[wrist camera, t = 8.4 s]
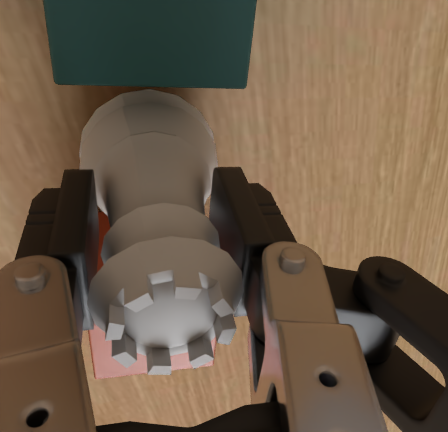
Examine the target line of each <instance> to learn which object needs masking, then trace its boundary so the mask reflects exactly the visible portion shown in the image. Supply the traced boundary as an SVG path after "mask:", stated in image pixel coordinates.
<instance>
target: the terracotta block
mask: <svg viewBox="0 0 448 432" xmlns="http://www.w3.org/2000/svg"><path fill="white" fill-rule="evenodd" d="M98 219H99V248H98V266H97V272H98V271H99V270H100V269H101V267H102V266H103V265H104V264H103V261H102V258H101V251H102V245H103V240H104V236H105V235H106V234H107V232H108V231H109V230H110V225H109V220H108V216H107V215H106V214H105V213H104V212H98ZM88 334H89V341H90V348H91V355H92V363H93V370H94V377H95V379H102V378H111V377H120V376H128V375H137V374H145V373H147V358H146V356H145V355H142V354H139V353H137V361H136V362H135V363H133V364H132V365H131V366H129V367H128V368H126V367H124V366H123V365H122V364H120V363H119V362H118V361H117V360H115V359H114V358H113V357H112V340H108V341H105V332H104V331H103V330H101V329H100V328H99V327H98V326H96V325H95V323H94V329H93V330H88ZM211 345H212V350H213V355H214V356H215V348H216V337H215V338H214V339H213V340H211ZM170 358H171V370H179V369H188V368H193V367H192V365H191V363H190V361H189V355H188V352H186V353H182V354H177V355H173V356H170ZM213 364H214V359H213V360H211V361H210V362H208V363H206V364H204V365H202V366H200V367H205V366H212V365H213Z"/></svg>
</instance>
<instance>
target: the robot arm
mask: <svg viewBox="0 0 448 432" xmlns="http://www.w3.org/2000/svg"><path fill="white" fill-rule="evenodd" d="M209 220H210V221H211V223H212V224H213V226H214V227H215V228H216V230H217V231H218V235H219V243H220V249H222V250H224V251H226V252H228V253H229V255H230V256H231V257H232V259H233V260H234V262H235V263H236V264H237V266H238V267H239V268H240V270H241V271H242V280H243V291H244V293H243V295H242V297H241V300H240V302H239V304H238V307H237V309H236V311H235V313H234V317H237V316H248V319H249V323H250V325H249V331H248V355H249V374H250V392H251V405H244V406H242V407H239V408H237V409H235V410H232V411H230V412H228V413H225V414H223V415H221V416H218V417H216V418H214V419H211V420H209V421H206V422H204V423H202V424H199V425H197V426H194V427H176V426H167V425H158V424H149V423H140V422H131V421H129V422H122V423H115V424H108V425H101V426H95V420H94V415H93V409H92V404H91V398H90V393H89V387H88V382H87V376H86V371H85V365H84V360H83V354H82V349H81V342H82V330H93V329H94V320H93V318H92V316H91V313H90V311H89V308H88V306H87V299H88V294H89V288H90V283H91V280H92V279H93V277H94V276H95V275H96V274H97V266H98V248H99V219H98V208H97V197H96V187H95V177H94V170H93V169H71V170H64V173H63V178H62V183H61V188H45V189H43V190H42V191H41V192H40V193H39V194H38V195H37V196H36V197H35V198H34V199H33V200H32V203H31V206H30V209H29V215H28V216H27V220H26V225H25V226H24V230H23V233H22V237H21V240H20V243H19V247H18V250H17V254H16V257H15V260H14V261H13V262H10V263H9V264H7V265H5V266H4V267H3V268H2V269H0V432H388V430H387V427H386V424H385V420H384V417H383V414H382V411H383V412H384V413H385V414H386V415H387V416H388V417H389V418H390V419H391V420H392V421H393V422H394V423H395V424H396V425H397V426H398V428H399V429H400V430H401V431H402V432H448V294H447V293H445V292H444V291H442V290H441V289H439V288H438V287H437V286H435V285H434V284H432V283H431V282H430V281H428V280H427V279H425V278H424V277H423V276H421V275H420V274H418V273H417V272H415V271H414V270H413V269H411V268H410V267H408V266H407V265H405V264H404V263H402V262H400V261H397V260H395V259H391V258H387V257H380V256H376V257H369V258H366V259H365V260H363V261H362V262H361V263H360V265H359V268H358V270H357V271H351V270H345V269H339V268H333V267H328V266H325V265H323V263H322V261H321V258H320V257H319V255H318V254H317V253H316V252H314V251H313V250H312V249H310V248H309V247H307V246H305V245H302V244H299V243H297V242H296V240H295V238H294V236H293V234H292V232H291V230H290V228H289V227H288V225H287V223H286V221H285V219H284V217H283V215H281V212H280V210H279V208H278V206H276V202H275V200H274V198H273V197H272V195H271V193H270V192H269V191H268V190H266V189H265V188H264V187H263V186H261V185H260V184H259V183H249V184H248V181H247V179H246V177H245V175H244V173H243V171H242V169H241V167H215V168H214V170H213V176H212V188H211V200H210V212H209ZM399 336H402V337H403V338H404V339H405V340H406V341H407V342H409V343H410V344H411V345H412V346H413V347H415V348H416V349H417V350H418V351H419V352H420V353H422V354H423V355H424V356H425V357H426V358H427V359H429V360H430V361H431V362H432V363H433V364H435V365H436V366H437V367H438V369H439V370H440V371H441V373H442V374H443V376H444V379H445V384H446V386H445V387H444V386H442V385H441V384H440V383H439V382H438V381H437V380H435V379H434V378H433V377H432V376H431V375H430V374H429V373H427V372H426V371H425V370H424V369H423V368H422V367H421V366H419V365H418V364H417V363H416V362H415V361H414V360H412V359H411V358H410V357H409V356H408V355H407V354H406V353H404V352H403V351H402V350H401V349H400V348H399V347H398V346H396V345H395V344H396V342H397V340H398V338H399ZM381 410H382V411H381Z"/></svg>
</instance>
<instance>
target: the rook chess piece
mask: <svg viewBox="0 0 448 432" xmlns="http://www.w3.org/2000/svg"><path fill="white" fill-rule="evenodd" d="M79 157H80V167H79V169H93V170H94V177H95V187H96V197H97V206H98V207H99V208H100V209H101V210H102V211H103V212H104V213H105V214H106V215H107V216H108V220H109V225H110V230H109V231H108V232H107V234H106V235H105V236H104V240H103V245H102V251H101V258H102V261H103V264H104V265H103V266H102V267H101V269H100V270H99V271H98V272H97V274H96V275H95V276H94V277H93V279H92V280H91V283H90V288H89V294H88V299H87V306H88V308H89V311H90V313H91V316H92V318H93V320H94V323H95V325H96V326H98V327H99V328H100V329H101V330H103V331H104V332H105V341H108V340H112V357H113V358H114V359H115V360H117V361H118V362H119V363H120V364H122V365H123V366H124V367H126V368H128V367H129V366H131V365H132V364H133V363H135V362H136V361H137V353H139V354H142V355H145V356H146V358H147V374H153V375H171V358H170V356H173V355H177V354H182V353H186V352H188V355H189V361H190V363H191V365H192V367H193V368H194V369H196V368H198V367H200V366H202V365H204V364H206V363H208V362H210V361H211V360H213V359H214V355H213V350H212V345H211V340H213V339H214V338H215V337H216V340H217V343H221V344H227V345H230V342H231V340H232V338H233V336H234V334H235V331H236V329H237V328H236V325H235V321H234V318H233V315H234V313H235V311H236V309H237V307H238V304H239V302H240V300H241V297H242V295H243V293H244V291H243V280H242V271H241V270H240V268H239V267H238V266H237V264H236V263H235V262H234V260H233V259H232V257H231V256H230V255H229V253H228V252H226V251H224V250H222V249H220V243H219V235H218V231H217V230H216V228H215V227H214V226H213V224H212V223H211V221H210V220H209V219H208V217H207V216H205V211H204V204H205V203H206V200H207V198H208V197H209V196H210V194H211V188H212V176H213V170H214V168H215V167H218V161H217V153H216V144H215V143H214V139H213V132H212V130H211V129H210V127H209V125H208V124H207V122H206V120H205V119H204V117H203V115H202V114H201V112H200V111H199V110H198V109H196V108H195V107H194V106H192V105H191V104H189V103H188V102H186V101H185V100H184V99H182V98H181V97H179V96H178V95H174V94H170V93H165V92H161V91H156V90H152V89H147V90H140V91H134V92H128V93H121V94H120V95H118V96H116V97H115V98H113V99H111V100H110V101H108V102H107V103H105V104H103V105H102V106H100V107H99V108H97V109H96V111H95V112H94V114H93V115H92V117H91V118H90V120H89V121H88V123H87V124H86V126H85V127H84V129H83V130H82V136H81V144H80V151H79Z"/></svg>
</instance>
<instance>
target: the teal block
mask: <svg viewBox="0 0 448 432" xmlns="http://www.w3.org/2000/svg"><path fill="white" fill-rule="evenodd" d="M256 3H257V0H43V5H44V12H45V19H46V27H47V34H48V41H49V48H50V56H51V63H52V70H53V78H54V82H55V83H56V84H58V85H94V86H138V87H182V88H226V89H244V88H246V86H247V78H248V70H249V62H250V53H251V45H252V37H253V28H254V20H255V11H256Z"/></svg>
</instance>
